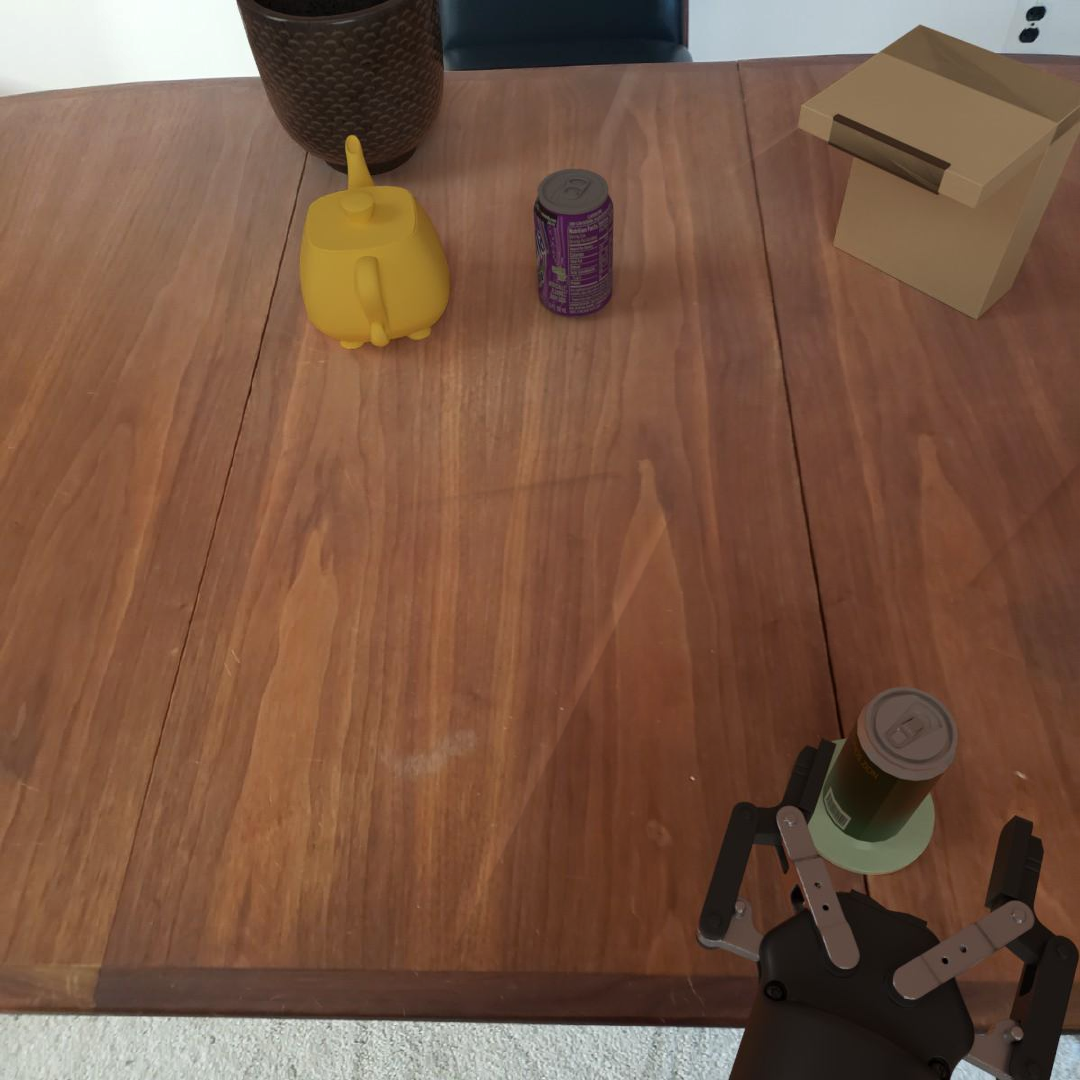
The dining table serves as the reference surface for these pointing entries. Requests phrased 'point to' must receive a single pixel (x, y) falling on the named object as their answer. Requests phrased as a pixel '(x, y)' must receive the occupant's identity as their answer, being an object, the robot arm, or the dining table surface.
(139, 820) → the dining table surface
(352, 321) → the teapot
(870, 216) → the lidded cardboard box
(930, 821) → the coaster
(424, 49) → the planter
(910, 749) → the beer can
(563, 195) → the beverage can
